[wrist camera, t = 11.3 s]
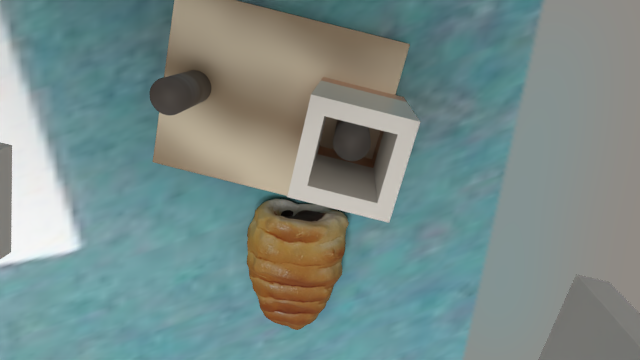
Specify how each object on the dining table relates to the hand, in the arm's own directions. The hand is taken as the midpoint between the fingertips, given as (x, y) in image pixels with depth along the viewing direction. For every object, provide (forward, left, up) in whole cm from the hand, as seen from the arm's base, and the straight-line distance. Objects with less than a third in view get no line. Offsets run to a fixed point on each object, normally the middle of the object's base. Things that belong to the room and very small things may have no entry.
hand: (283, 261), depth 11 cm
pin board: (0, -3, -21) cm, 21 cm away
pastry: (+10, 0, -21) cm, 24 cm away
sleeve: (0, +2, -20) cm, 19 cm away
